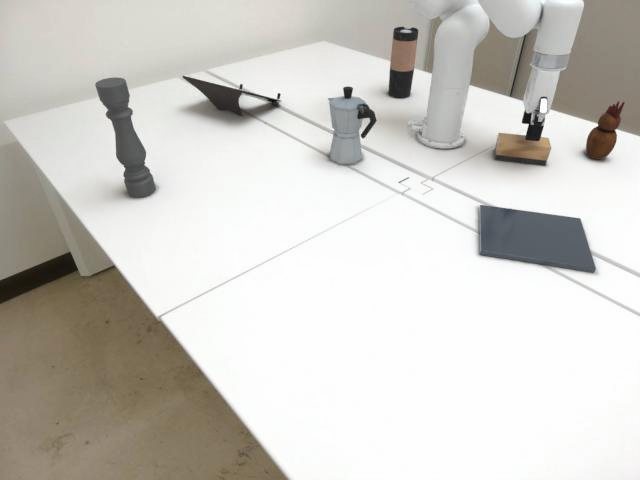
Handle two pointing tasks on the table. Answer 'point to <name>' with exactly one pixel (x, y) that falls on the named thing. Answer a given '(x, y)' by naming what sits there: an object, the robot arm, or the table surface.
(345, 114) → the coffee maker
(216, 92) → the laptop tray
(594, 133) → the wooden figurine
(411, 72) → the travel mug
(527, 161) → the scrub brush
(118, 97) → the candle holder
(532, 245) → the slate board
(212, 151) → the table surface
